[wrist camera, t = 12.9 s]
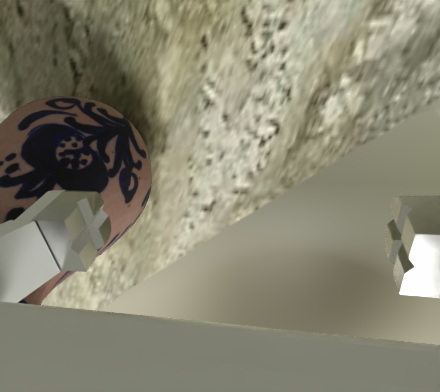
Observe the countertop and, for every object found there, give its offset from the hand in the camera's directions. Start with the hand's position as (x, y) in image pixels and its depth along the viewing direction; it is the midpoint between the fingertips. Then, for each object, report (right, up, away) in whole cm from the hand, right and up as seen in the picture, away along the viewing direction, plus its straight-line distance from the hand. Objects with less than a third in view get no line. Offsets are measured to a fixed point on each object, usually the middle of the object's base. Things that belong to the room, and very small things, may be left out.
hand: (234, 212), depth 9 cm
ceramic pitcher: (-17, +6, +37) cm, 41 cm away
